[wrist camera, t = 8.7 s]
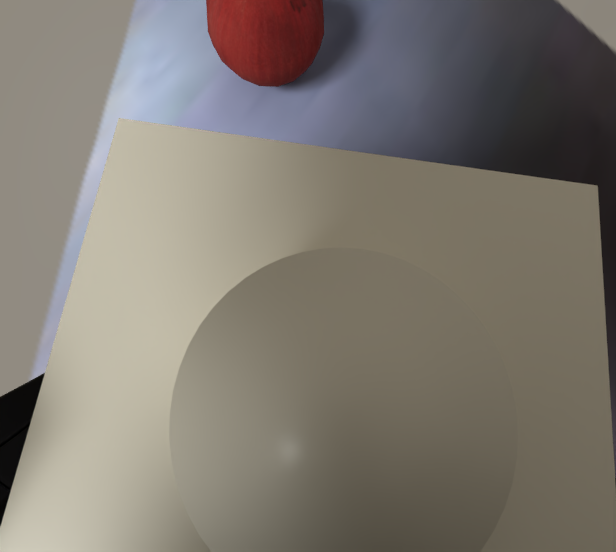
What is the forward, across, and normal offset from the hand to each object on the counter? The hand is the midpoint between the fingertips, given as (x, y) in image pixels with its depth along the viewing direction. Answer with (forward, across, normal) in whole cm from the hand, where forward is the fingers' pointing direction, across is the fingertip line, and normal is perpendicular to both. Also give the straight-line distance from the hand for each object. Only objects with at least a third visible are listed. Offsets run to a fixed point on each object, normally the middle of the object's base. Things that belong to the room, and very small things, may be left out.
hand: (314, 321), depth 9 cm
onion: (+19, +4, -3) cm, 20 cm away
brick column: (+4, 0, +6) cm, 7 cm away
